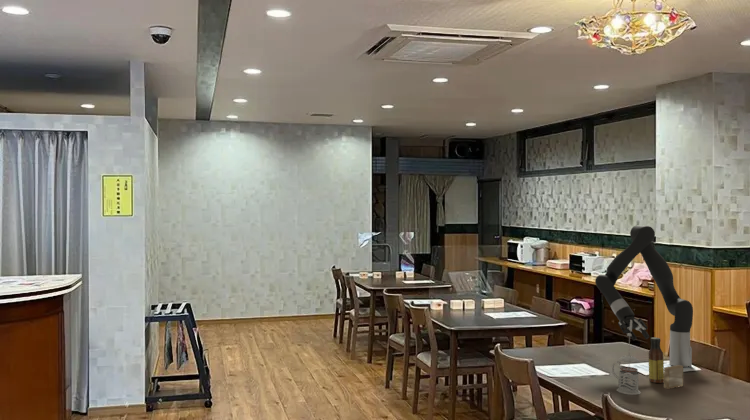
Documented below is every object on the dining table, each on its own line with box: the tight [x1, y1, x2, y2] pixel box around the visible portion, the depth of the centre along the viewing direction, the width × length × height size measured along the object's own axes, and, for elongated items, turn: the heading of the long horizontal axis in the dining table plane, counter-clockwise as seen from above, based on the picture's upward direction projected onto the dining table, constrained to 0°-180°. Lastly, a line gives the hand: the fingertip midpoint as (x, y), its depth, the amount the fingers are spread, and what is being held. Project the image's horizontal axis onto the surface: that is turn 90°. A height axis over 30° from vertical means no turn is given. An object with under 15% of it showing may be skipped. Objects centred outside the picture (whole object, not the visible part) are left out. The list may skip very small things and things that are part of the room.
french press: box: [611, 333, 642, 396], centre depth 276 cm, size 10×12×25 cm
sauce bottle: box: [648, 337, 665, 384], centre depth 291 cm, size 7×6×20 cm
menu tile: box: [663, 365, 684, 390], centre depth 283 cm, size 2×10×9 cm, turn 118°
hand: (641, 338), depth 298 cm, fingers open, 8 cm apart
